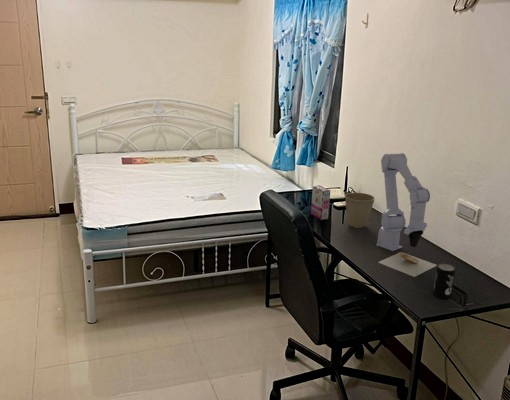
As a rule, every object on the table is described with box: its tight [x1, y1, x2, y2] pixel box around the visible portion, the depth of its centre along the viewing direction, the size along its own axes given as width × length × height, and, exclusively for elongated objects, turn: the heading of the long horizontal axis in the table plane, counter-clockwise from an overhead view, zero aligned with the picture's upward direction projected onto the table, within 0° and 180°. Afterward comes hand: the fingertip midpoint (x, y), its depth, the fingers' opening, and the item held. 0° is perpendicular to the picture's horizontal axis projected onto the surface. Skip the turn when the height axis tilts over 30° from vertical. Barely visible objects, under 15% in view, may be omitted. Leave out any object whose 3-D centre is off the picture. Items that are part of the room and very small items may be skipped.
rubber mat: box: [377, 251, 438, 278], centre depth 216 cm, size 18×18×1 cm
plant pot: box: [344, 192, 376, 229], centre depth 259 cm, size 15×15×16 cm
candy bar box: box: [310, 184, 331, 221], centre depth 271 cm, size 11×5×16 cm, turn 25°
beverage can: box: [432, 263, 456, 300], centre depth 188 cm, size 7×7×12 cm
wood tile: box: [397, 251, 419, 264], centre depth 215 cm, size 6×2×8 cm
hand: (413, 246), depth 216 cm, fingers closed
